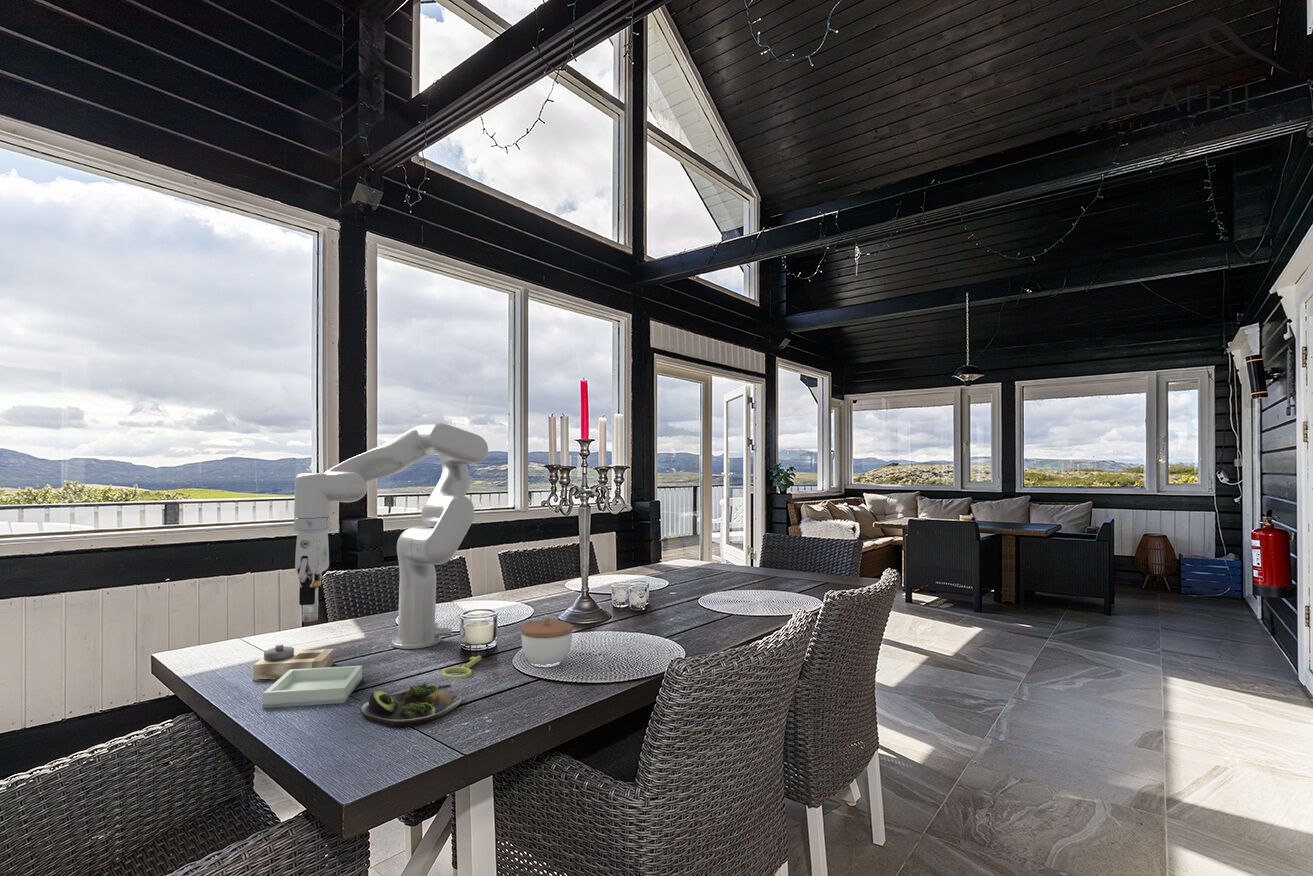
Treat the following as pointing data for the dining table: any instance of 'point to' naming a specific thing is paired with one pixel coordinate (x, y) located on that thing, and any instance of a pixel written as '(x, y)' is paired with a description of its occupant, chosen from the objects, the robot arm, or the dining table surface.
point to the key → (461, 669)
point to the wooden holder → (290, 661)
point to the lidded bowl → (546, 641)
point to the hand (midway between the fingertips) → (310, 601)
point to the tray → (313, 686)
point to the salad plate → (408, 705)
